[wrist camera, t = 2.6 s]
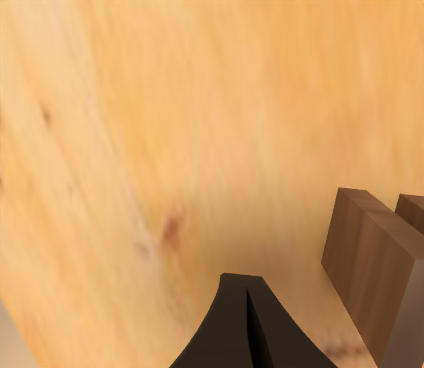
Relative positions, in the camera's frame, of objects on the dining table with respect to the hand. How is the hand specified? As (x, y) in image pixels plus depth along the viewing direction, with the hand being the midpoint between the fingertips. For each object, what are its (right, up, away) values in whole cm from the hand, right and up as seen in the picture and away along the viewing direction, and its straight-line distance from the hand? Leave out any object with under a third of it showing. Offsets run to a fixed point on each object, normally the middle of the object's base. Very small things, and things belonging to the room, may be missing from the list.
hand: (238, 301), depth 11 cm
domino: (+7, +1, +9) cm, 12 cm away
